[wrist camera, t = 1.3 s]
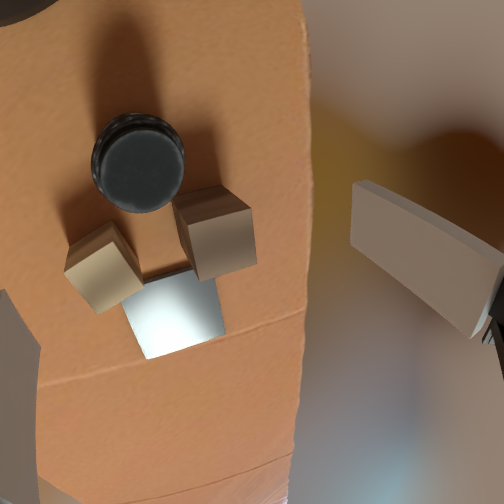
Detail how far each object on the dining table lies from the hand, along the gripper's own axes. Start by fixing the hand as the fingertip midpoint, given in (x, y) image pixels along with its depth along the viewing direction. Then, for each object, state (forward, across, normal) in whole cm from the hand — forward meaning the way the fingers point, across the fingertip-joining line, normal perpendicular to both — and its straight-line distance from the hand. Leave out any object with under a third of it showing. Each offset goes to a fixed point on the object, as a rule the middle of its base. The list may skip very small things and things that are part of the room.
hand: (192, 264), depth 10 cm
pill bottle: (+19, -1, +1) cm, 19 cm away
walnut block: (+19, +4, -7) cm, 20 cm away
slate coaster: (+18, -1, -17) cm, 25 cm away
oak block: (+19, -6, -8) cm, 21 cm away
